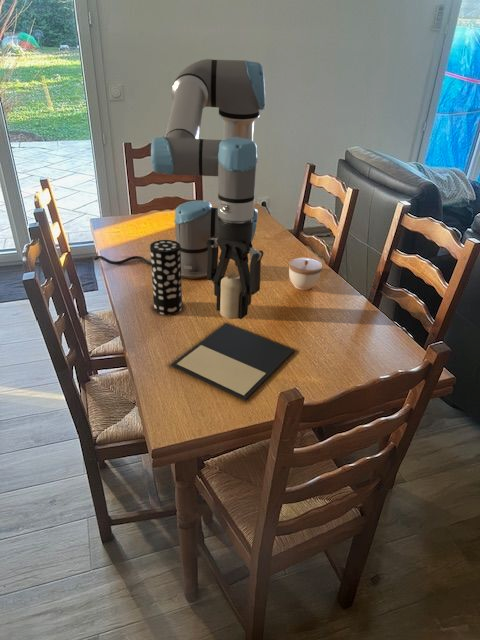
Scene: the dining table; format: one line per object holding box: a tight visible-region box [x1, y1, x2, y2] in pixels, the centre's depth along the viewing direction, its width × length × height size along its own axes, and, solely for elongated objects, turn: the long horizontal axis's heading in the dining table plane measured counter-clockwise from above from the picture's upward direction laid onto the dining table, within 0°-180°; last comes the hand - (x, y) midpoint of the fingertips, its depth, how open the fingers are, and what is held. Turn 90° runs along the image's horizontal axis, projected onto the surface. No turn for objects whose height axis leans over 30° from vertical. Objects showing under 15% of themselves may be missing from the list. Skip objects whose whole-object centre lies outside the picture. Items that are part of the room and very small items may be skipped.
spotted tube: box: [149, 239, 183, 316], centre depth 135 cm, size 8×8×20 cm
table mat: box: [170, 322, 295, 402], centre depth 120 cm, size 22×24×1 cm
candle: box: [219, 271, 243, 320], centre depth 108 cm, size 6×6×10 cm
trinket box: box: [288, 257, 323, 291], centre depth 153 cm, size 11×11×9 cm
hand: (231, 312), depth 110 cm, fingers closed on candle, 5 cm apart
